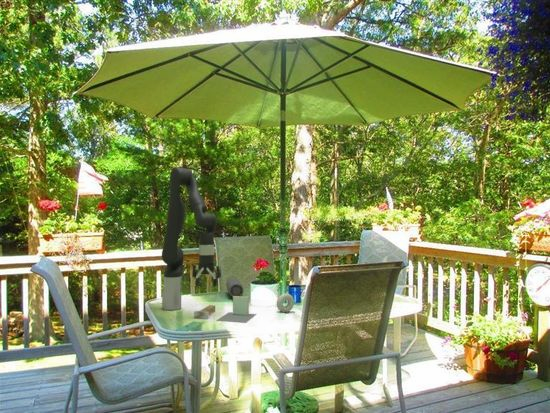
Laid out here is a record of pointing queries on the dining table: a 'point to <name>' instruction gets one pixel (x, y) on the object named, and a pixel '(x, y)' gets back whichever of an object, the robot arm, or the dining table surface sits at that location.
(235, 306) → the tile
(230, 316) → the mat
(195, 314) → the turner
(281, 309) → the donut
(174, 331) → the dining table surface
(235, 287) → the bluetooth speaker
